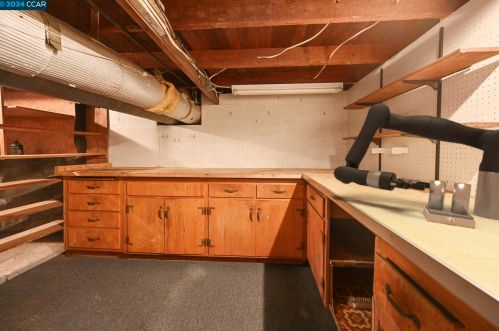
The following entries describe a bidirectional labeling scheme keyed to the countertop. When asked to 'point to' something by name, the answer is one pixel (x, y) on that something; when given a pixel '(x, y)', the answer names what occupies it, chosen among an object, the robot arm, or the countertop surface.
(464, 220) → the scale
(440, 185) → the cylinder
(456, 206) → the cylinder
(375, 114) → the robot arm
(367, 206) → the countertop surface
